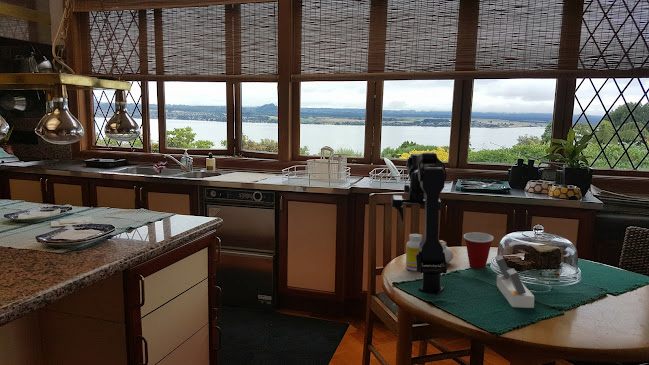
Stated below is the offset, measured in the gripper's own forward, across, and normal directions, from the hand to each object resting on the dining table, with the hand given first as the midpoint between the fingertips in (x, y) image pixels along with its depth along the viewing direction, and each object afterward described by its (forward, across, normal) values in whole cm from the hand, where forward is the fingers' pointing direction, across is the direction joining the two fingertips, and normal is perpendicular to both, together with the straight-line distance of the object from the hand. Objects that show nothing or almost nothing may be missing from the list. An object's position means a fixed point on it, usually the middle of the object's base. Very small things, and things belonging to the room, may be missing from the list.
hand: (414, 221), depth 177 cm
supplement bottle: (+12, 0, +15) cm, 20 cm away
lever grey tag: (+3, -28, +32) cm, 43 cm away
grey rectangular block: (0, -27, +46) cm, 53 cm away
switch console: (+5, -28, +40) cm, 49 cm away
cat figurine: (+14, -8, +6) cm, 18 cm away
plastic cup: (+12, -24, +11) cm, 29 cm away
